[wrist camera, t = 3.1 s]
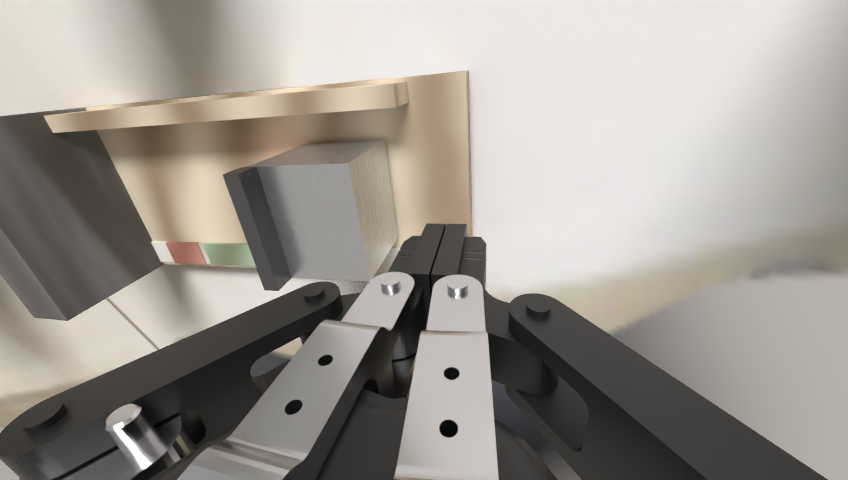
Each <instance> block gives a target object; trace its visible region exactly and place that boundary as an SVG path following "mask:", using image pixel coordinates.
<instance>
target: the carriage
mask: <svg viewBox="0 0 848 480" xmlns="http://www.w3.org/2000/svg"><path fill="white" fill-rule="evenodd" d="M223 178H224V181H225V183H226V186H227V189H228V191H229V194H230V197H231V200H232V202H233V205H234V208H235V211H236V213H237V216H238V219H239V222H240V224H241V227H242V230H243V232H244V235H245V238H246V241H247V243H248V246H249V249H250V252H251V254H252V257H253V260H254V263H255V265H256V268H257V271H258V273H259V276H260V279H261V282H262V284H263V287H264V290H272V291H279V290H280V289H281V288H282V287H283V286H284V285H285V284H286V283H287V282H288V281H289V280H290V279H291V278H308V279H328V280H348V281H368V282H370V281H371V280H372V279H373V277H374V275H375V274H376V272H377V270H378V269H379V267H380V266H381V264H382V262H383V261H384V259H385V258H386V256H387V254H388V253H389V251H390V249H391V248H392V246H393V245H394V243H395V241H396V240H397V238H398V232H397V225H396V218H395V210H394V203H393V196H392V188H391V181H390V174H389V166H388V159H387V152H386V144H385V140H374V141H354V142H335V143H316V144H303V145H301V146H298V147H296V148H293V149H291V150H288V151H286V152H283V153H281V154H278V155H276V156H273V157H271V158H268V159H266V160H263V161H261V162H258V163H256V164H253V165H251V166H248V167H240V168H238V169H235V170H233V171H230V172H228V173H225V174H223Z"/></svg>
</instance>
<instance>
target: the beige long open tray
mask: <svg viewBox="0 0 848 480" xmlns="http://www.w3.org/2000/svg"><path fill="white" fill-rule="evenodd" d="M374 140H385V144H386V152H387V159H388V166H389V174H390V181H391V188H392V196H393V203H394V210H395V218H396V225H397V232H398V238H397V240H396V241H395V243H394V245H393V246H392V248H391V249H390V251H389V253H388V254H387V256H386V258H385V259H384V261H383V262H382V264H381V266H380V267H379V269H378V270H377V272H376V273H382V274H383V273H387V272H388V271H389V269H390V267H391V265H392V263H393V261H394V259H395V257H397V254H398V252H399V251H400V248H401V246H402V244H403V242H404V241H406V240H407V239H408V238H410V237H411V236H421V234H422V232H423V230H424V228H425V225H426V224H427V223H435V224H446V225H447V224H467V229H468V237H472V198H471V158H470V118H469V78H468V71H461V72H451V73H440V74H430V75H419V76H409V77H398V78H388V79H377V80H367V81H357V82H346V83H336V84H325V85H315V86H304V87H294V88H283V89H273V90H262V91H252V92H242V93H231V94H221V95H210V96H200V97H189V98H179V99H168V100H158V101H147V102H137V103H127V104H116V105H106V106H95V107H85V108H75V109H65V110H55V111H46V112H36V113H26V114H17V115H7V116H0V274H1V275H2V276H3V278H4V279H5V280H6V282H7V283H8V284H9V285H10V287H11V288H12V289H13V291H14V292H15V293H16V295H17V296H18V297H19V298H20V300H21V301H22V302H23V304H24V305H25V306H26V307H27V309H28V310H29V311H30V313H31V314H32V315H33V316H34V317H35V318H45V319H55V320H65V321H68V320H70V319H72V318H73V317H75V316H77V315H78V314H80V313H82V312H83V311H85V310H87V309H89V308H90V307H92V306H94V305H95V304H97V303H99V302H100V301H102V300H104V299H106V298H107V297H109V296H111V295H112V294H114V293H116V292H118V291H119V290H121V289H123V288H124V287H126V286H128V285H129V284H131V283H133V282H135V281H136V280H138V279H140V278H141V277H143V276H145V275H146V274H148V273H150V272H152V271H153V270H155V269H157V268H158V267H160V266H162V265H163V264H176V265H199V266H222V267H245V268H256V265H255V263H254V260H253V257H252V254H251V252H250V249H249V246H248V243H247V241H246V238H245V235H244V232H243V230H242V227H241V224H240V222H239V219H238V216H237V213H236V211H235V208H234V205H233V202H232V200H231V197H230V194H229V191H228V189H227V186H226V183H225V181H224V178H223V174H225V173H228V172H230V171H233V170H235V169H238V168H240V167H248V166H251V165H253V164H256V163H258V162H261V161H263V160H266V159H268V158H271V157H273V156H276V155H278V154H281V153H283V152H286V151H288V150H291V149H293V148H296V147H298V146H301V145H303V144H316V143H335V142H354V141H374Z"/></svg>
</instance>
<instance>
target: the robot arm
mask: <svg viewBox="0 0 848 480" xmlns="http://www.w3.org/2000/svg"><path fill="white" fill-rule="evenodd" d="M485 284H486V243H485V242H484V241H483V239H482V238H481V237H468V229H467V224H447V225H446V224H435V223H427V224H426V225H425V228H424V230H423V232H422V234H421V236H411V237H410V238H408V239H407V240H406V241H404V242H403V244H402V246H401V248H400V251H399V252H398V254H397V257H395V259H394V261H393V263H392V265H391V267H390V269H389V271H388V272H387V273H383V274H380V275H378V276H376V277H374V278H373V279H372V280H371V281H370V282H369V283H368V284H367V286H366V287H365V288H364V290H363V291H362V292H361V293H356V294H349V295H342V296H341V295H340V290H339V287H338V286H337V285H336V284H334V283H331V282H316V283H311V284H308V285H306V286H303V287H301V288H299V289H296V290H294V291H292V292H290V293H287V294H285V295H283V296H280V297H278V298H276V299H274V300H271V301H269V302H267V303H265V304H262V305H260V306H258V307H255V308H253V309H251V310H249V311H246V312H244V313H242V314H239V315H237V316H235V317H233V318H230V319H228V320H226V321H224V322H221V323H219V324H217V325H214V326H212V327H210V328H208V329H205V330H203V331H201V332H198V333H196V334H194V335H192V336H189V337H187V338H185V339H182V340H180V341H178V342H176V343H173V344H171V345H169V346H167V347H164V348H162V349H160V350H157V351H155V352H153V353H151V354H148V355H146V356H144V357H141V358H139V359H137V360H135V361H132V362H130V363H128V364H125V365H123V366H121V367H119V368H116V369H114V370H112V371H110V372H107V373H105V374H103V375H100V376H98V377H96V378H94V379H91V380H89V381H87V382H84V383H82V384H80V385H78V386H75V387H73V388H71V389H69V390H66V391H64V392H62V393H59V394H57V395H55V396H53V397H50V398H48V399H46V400H44V401H42V402H40V403H38V404H37V405H35V406H33V407H31V408H30V409H28V410H27V411H25V412H24V413H22V414H21V415H20V416H18V417H17V418H16V419H14V420H13V421H12V422H11V423H10V424H9V425H7V426H6V427H5V429H4V430H3V431H2V432H1V433H0V459H1V460H2V461H3V462H4V463H5V464H6V465H7V466H8V467H9V468H10V469H12V471H14V472H15V473H16V474H17V475H18V476H19V479H20V480H557V479H556V477H555V476H554V475H553V473H552V472H551V471H550V469H548V467H547V466H546V464H545V463H544V462H543V460H542V459H541V458H540V457H539V455H538V454H537V453H536V452H535V451H534V449H533V448H532V447H531V446H530V445H529V444H528V443H527V442H526V441H525V440H524V439H523V438H521V437H520V436H519V435H518V434H517V433H515V432H514V431H513V430H512V429H510V428H508V427H507V426H506V425H504V424H503V423H501V422H499V421H497V420H495V419H494V411H493V397H492V384H491V379H492V380H494V381H497V382H499V383H502V384H504V385H505V389H506V392H507V394H508V396H509V397H510V398H511V399H512V401H513V402H514V403H515V404H516V405H517V406H518V407H519V409H520V410H521V411H522V412H523V413H524V414H525V415H526V417H527V418H528V419H529V420H530V421H531V422H532V423H533V425H534V426H535V427H536V428H537V429H538V430H539V431H540V433H541V434H542V435H543V436H544V437H545V438H546V439H547V441H548V442H549V443H550V444H551V445H552V446H553V447H554V448H555V450H556V451H557V452H558V453H559V454H560V455H561V456H562V458H563V459H564V460H565V461H566V462H567V463H568V464H569V465H570V467H571V468H572V469H573V470H574V471H575V472H576V473H577V475H578V476H579V477H580V478H581V479H582V480H827V479H826V478H824V477H823V476H821V475H820V474H818V473H817V472H815V471H814V470H812V469H811V468H809V467H808V466H806V465H805V464H803V463H802V462H800V461H799V460H797V459H796V458H794V457H793V456H791V455H790V454H788V453H787V452H785V451H784V450H782V449H781V448H779V447H778V446H776V445H775V444H773V443H772V442H770V441H769V440H767V439H766V438H764V437H763V436H761V435H760V434H758V433H757V432H755V431H753V430H752V429H751V428H749V427H748V426H746V425H745V424H743V423H741V422H740V421H739V420H737V419H736V418H734V417H733V416H731V415H730V414H728V413H727V412H725V411H724V410H722V409H720V408H719V407H718V406H716V405H715V404H713V403H712V402H710V401H708V400H707V399H705V398H704V397H702V396H701V395H699V394H698V393H696V392H695V391H693V390H692V389H690V388H689V387H687V386H686V385H684V384H683V383H681V382H680V381H678V380H677V379H675V378H674V377H672V376H671V375H669V374H668V373H666V372H665V371H663V370H662V369H660V368H659V367H657V366H656V365H654V364H653V363H651V362H650V361H648V360H647V359H645V358H644V357H642V356H641V355H639V354H638V353H636V352H635V351H633V350H632V349H630V348H629V347H627V346H626V345H624V344H623V343H621V342H620V341H618V340H617V339H615V338H614V337H612V336H611V335H609V334H608V333H606V332H605V331H603V330H602V329H600V328H599V327H597V326H596V325H594V324H593V323H591V322H590V321H588V320H587V319H585V318H584V317H582V316H581V315H579V314H578V313H576V312H575V311H573V310H572V309H570V308H569V307H567V306H566V305H564V304H563V303H561V302H560V301H558V300H556V299H554V298H552V297H550V296H546V295H542V294H524V295H520V296H518V297H516V298H515V299H513V300H512V301H511V303H507V302H503V301H500V300H498V299H496V298H494V297H492V296H491V295H490V294H489V293H488V292H487V291H486V290H485ZM298 337H300V338H301V341H302V344H303V345H302V347H301V348H300V349H299V350H298V352H297V353H296V354H295V355H294V357H293V358H292V359H290V360H288V361H287V362H285V363H283V364H281V365H279V366H278V367H276V368H274V369H272V370H270V371H269V372H267V373H265V374H263V375H261V376H257V377H253V376H251V375H250V369H251V367H252V365H253V364H254V362H255V361H256V360H257V359H259V358H260V357H262V356H264V355H266V354H268V353H270V352H271V351H273V350H275V349H277V348H279V347H281V346H283V345H285V344H287V343H289V342H291V341H292V340H294V339H296V338H298ZM410 386H411V389H410ZM409 389H410V395H409V397H407V395H408V392H409Z"/></svg>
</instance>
